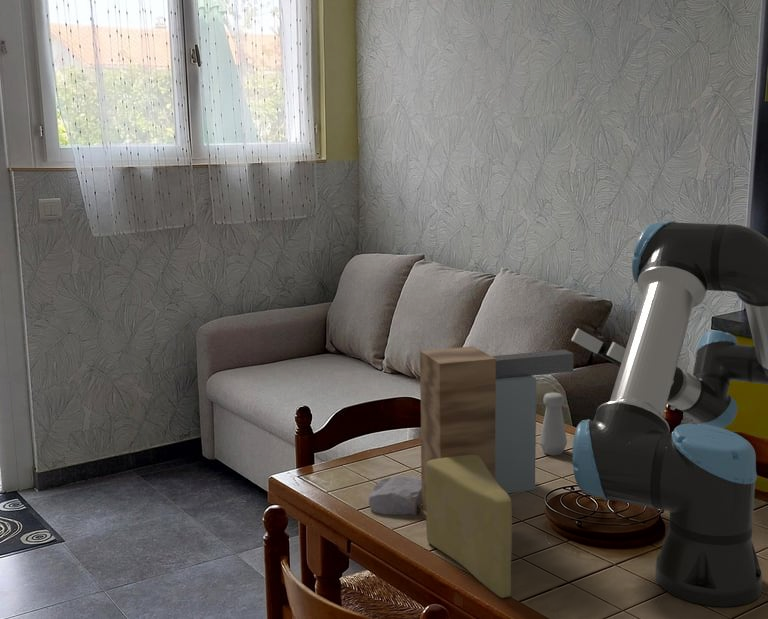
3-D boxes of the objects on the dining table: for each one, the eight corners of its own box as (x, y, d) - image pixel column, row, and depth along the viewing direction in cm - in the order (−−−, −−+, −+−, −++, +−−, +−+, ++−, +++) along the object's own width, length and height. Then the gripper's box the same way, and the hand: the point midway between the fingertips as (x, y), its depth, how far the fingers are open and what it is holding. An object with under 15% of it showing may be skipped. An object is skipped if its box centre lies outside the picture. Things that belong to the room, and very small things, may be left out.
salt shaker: (570, 450, 195) (572, 392, 193) (560, 458, 191) (562, 399, 188) (545, 446, 199) (546, 388, 196) (534, 454, 194) (535, 395, 191)
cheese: (537, 594, 134) (538, 498, 132) (476, 604, 132) (476, 507, 129) (478, 534, 155) (478, 450, 152) (424, 542, 152) (424, 457, 150)
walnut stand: (498, 527, 157) (499, 359, 152) (439, 536, 154) (437, 364, 149) (474, 503, 168) (474, 345, 162) (418, 511, 165) (416, 350, 159)
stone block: (367, 522, 165) (420, 516, 163) (362, 497, 165) (415, 491, 162) (382, 500, 176) (432, 494, 174) (377, 476, 176) (427, 470, 174)
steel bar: (573, 371, 175) (573, 353, 174) (456, 383, 168) (456, 364, 167) (564, 367, 178) (564, 349, 177) (449, 378, 171) (449, 360, 171)
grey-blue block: (535, 489, 174) (536, 378, 170) (467, 499, 170) (466, 385, 166) (517, 475, 182) (518, 368, 178) (451, 484, 178) (451, 375, 174)
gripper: (701, 418, 172) (617, 373, 165) (629, 386, 196) (553, 345, 188) (719, 383, 172) (636, 336, 165) (645, 355, 196) (569, 313, 188)
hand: (591, 341), depth 177 cm, fingers open, 13 cm apart
